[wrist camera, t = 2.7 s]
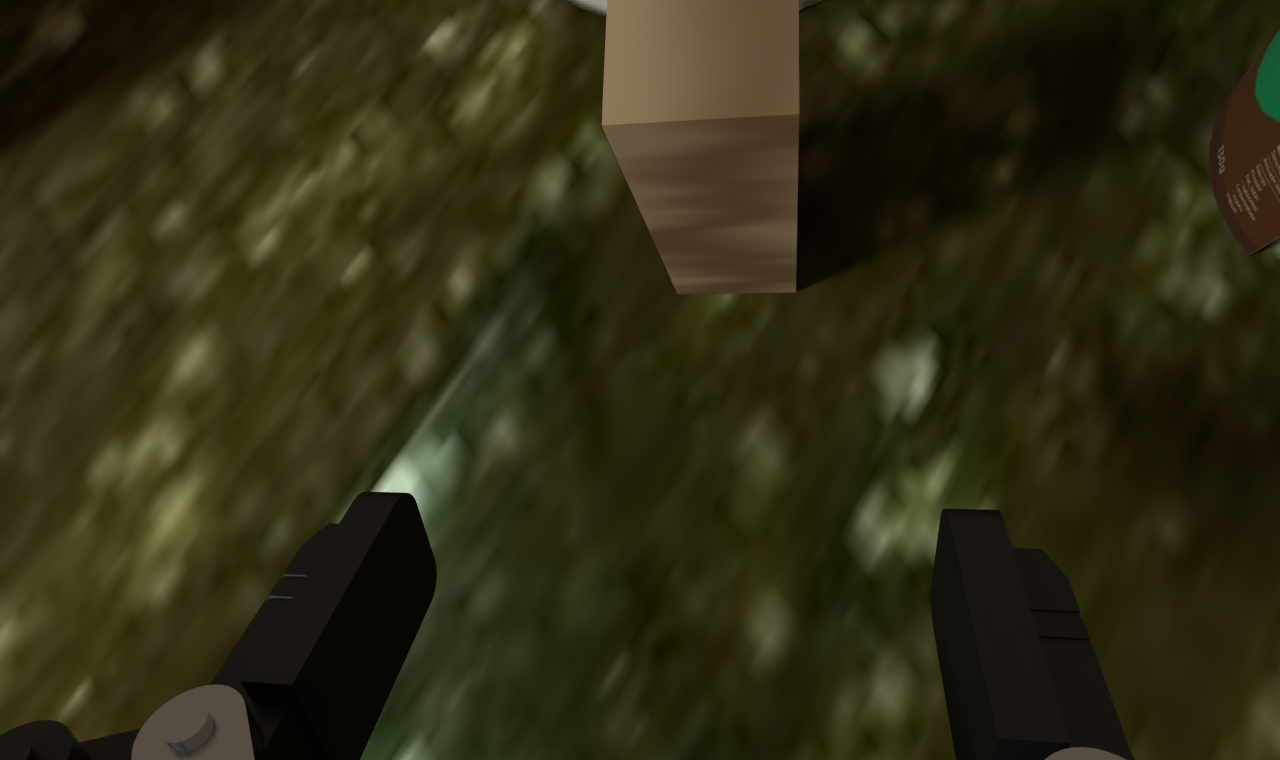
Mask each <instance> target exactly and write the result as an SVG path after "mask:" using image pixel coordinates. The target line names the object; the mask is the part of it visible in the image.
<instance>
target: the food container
mask: <svg viewBox="0 0 1280 760" xmlns="http://www.w3.org/2000/svg"><path fill="white" fill-rule="evenodd" d="M1209 172H1210V178H1211V184H1212V190H1213V193H1214V196H1215V199H1216V202H1217V205H1218V208H1219V211H1220V213H1221V215H1222V217H1223V219H1224V221H1225V222H1226V224H1227V226H1228V228H1229V230H1230V232H1231V233H1232V235H1233V236H1234V237H1235V239H1236V240H1237V241H1238V243H1239V244H1240V245H1241V247H1242V248H1243V249H1244V250H1245V252H1246V253H1247V254H1248V256H1250V255H1252V254H1253V253H1255V252H1256V251H1258V250H1260V249H1261V248H1263V247H1264V246H1266V245H1268V244H1269V243H1271V242H1272V241H1274V240H1276V239H1277V238H1279V237H1280V29H1279V30H1278V31H1277V33H1276V34H1275V35H1274V37H1273V38H1272V39H1271V40H1270V42H1269V43H1268V44H1267V46H1266V47H1265V48H1264V49H1263V51H1262V52H1261V53H1260V55H1259V56H1258V57H1257V58H1256V60H1255V61H1254V62H1253V64H1252V65H1251V66H1250V67H1249V69H1248V70H1247V71H1246V73H1245V74H1244V75H1243V76H1242V78H1241V79H1240V80H1239V82H1238V83H1237V84H1236V85H1235V87H1234V88H1233V90H1232V91H1231V93H1230V94H1229V96H1228V97H1227V99H1226V100H1225V102H1224V103H1223V105H1222V107H1221V110H1220V112H1219V114H1218V117H1217V119H1216V121H1215V124H1214V127H1213V132H1212V137H1211V141H1210V146H1209Z"/></svg>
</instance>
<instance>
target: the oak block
mask: <svg viewBox="0 0 1280 760" xmlns="http://www.w3.org/2000/svg"><path fill="white" fill-rule="evenodd" d="M602 127H603V129H604V131H605V134H606V136H607V138H608V140H609V142H610V145H611V147H612V149H613V151H614V154H615V156H616V158H617V160H618V163H619V165H620V167H621V169H622V171H623V174H624V176H625V178H626V180H627V183H628V185H629V187H630V189H631V191H632V194H633V196H634V198H635V200H636V203H637V205H638V207H639V209H640V211H641V214H642V216H643V218H644V220H645V223H646V225H647V227H648V229H649V231H650V234H651V236H652V238H653V240H654V243H655V245H656V247H657V249H658V251H659V254H660V256H661V258H662V260H663V263H664V265H665V267H666V269H667V272H668V274H669V276H670V278H671V280H672V283H673V285H674V287H675V289H676V292H677V294H678V295H680V294H731V293H781V292H796V266H797V208H798V149H799V0H607V20H606V42H605V65H604V87H603V109H602Z"/></svg>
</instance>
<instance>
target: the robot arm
mask: <svg viewBox="0 0 1280 760" xmlns="http://www.w3.org/2000/svg"><path fill="white" fill-rule="evenodd" d="M436 577H437V571H436V562H435V558H434V555H433V552H432V549H431V546H430V543H429V540H428V537H427V534H426V531H425V528H424V525H423V522H422V519H421V515H420V512H419V509H418V506H417V503H416V501H415V499H414V497H413V496H412V495H411V494H409V493H390V492H362V493H361V494H359V495H358V496H357V497H356V498H355V500H354V501H353V503H352V504H351V506H350V508H349V509H348V511H347V512H346V514H345V515H344V517H343V519H342V520H341V522H340V523H339V524H332V523H328V524H327V525H326V526H325V527H324V528H323V529H321V530H320V531H319V532H318V533H317V534H315V535H314V536H313V537H312V538H311V539H309V540H308V541H307V542H306V543H305V544H303V545H302V546H301V547H300V549H299V550H298V552H297V553H296V555H295V556H294V558H293V559H292V561H291V562H290V564H289V565H288V567H287V569H286V570H285V572H284V577H283V578H280V579H279V581H278V582H277V584H276V585H275V587H274V588H273V590H272V591H271V593H270V594H269V600H265V602H264V603H263V605H262V606H261V608H260V609H259V611H258V612H257V614H256V615H255V617H254V618H253V620H252V621H251V623H250V624H249V626H248V627H247V629H246V630H245V632H244V633H243V635H242V636H241V638H240V639H239V641H238V642H237V644H236V645H235V647H234V649H233V650H232V652H231V653H230V655H229V656H228V658H227V659H226V661H225V662H224V664H223V665H222V667H221V668H220V670H219V671H218V673H217V674H216V676H215V677H214V679H213V680H212V681H211V683H210V684H209V685H206V686H201V687H197V688H194V689H192V690H189V691H186V692H184V693H182V694H180V695H178V696H176V697H175V698H173V699H172V700H170V701H168V702H167V703H166V704H164V705H163V706H162V707H161V708H159V709H158V710H157V711H156V712H155V713H154V714H153V715H152V716H151V717H150V718H149V719H148V720H147V722H146V723H145V724H144V725H143V727H142V728H141V729H137V730H133V731H128V732H124V733H119V734H115V735H111V736H106V737H102V738H97V739H93V740H89V741H84V742H80V743H79V742H78V740H77V739H76V738H75V737H74V735H73V734H72V733H71V731H70V730H69V729H68V728H67V727H66V726H65V725H64V724H62V723H60V722H57V721H51V720H43V721H36V722H31V723H27V724H24V725H21V726H19V727H16V728H14V729H12V730H10V731H8V732H6V733H4V734H2V735H0V760H360V758H361V756H362V754H363V751H364V749H365V747H366V745H367V743H368V740H369V738H370V736H371V734H372V732H373V729H374V727H375V725H376V723H377V720H378V718H379V716H380V714H381V712H382V709H383V707H384V705H385V703H386V701H387V698H388V696H389V694H390V692H391V690H392V687H393V685H394V683H395V681H396V679H397V676H398V674H399V672H400V670H401V667H402V665H403V663H404V661H405V659H406V656H407V654H408V652H409V650H410V648H411V645H412V643H413V641H414V639H415V637H416V634H417V632H418V630H419V628H420V626H421V623H422V621H423V619H424V617H425V614H426V612H427V610H428V608H429V606H430V603H431V601H432V599H433V595H434V592H435V587H436ZM931 609H932V621H933V629H934V635H935V640H936V646H937V652H938V658H939V663H940V669H941V675H942V681H943V687H944V692H945V698H946V704H947V710H948V716H949V721H950V727H951V733H952V739H953V744H954V750H955V756H956V760H1135V759H1134V758H1133V756H1132V753H1131V751H1130V749H1129V747H1128V744H1127V741H1126V738H1125V736H1124V733H1123V730H1122V727H1121V724H1120V722H1119V719H1118V716H1117V713H1116V710H1115V708H1114V705H1113V702H1112V699H1111V697H1110V694H1109V691H1108V688H1107V685H1106V683H1105V680H1104V677H1103V674H1102V671H1101V669H1100V666H1099V663H1098V660H1097V657H1096V655H1095V652H1094V649H1093V646H1090V638H1089V635H1088V632H1087V630H1086V627H1085V624H1084V621H1083V618H1080V610H1079V607H1078V604H1077V602H1076V599H1075V596H1074V593H1073V591H1072V588H1071V585H1070V582H1069V579H1068V578H1067V577H1066V576H1065V574H1064V573H1063V572H1062V571H1061V570H1060V569H1059V568H1058V567H1057V566H1056V565H1055V563H1054V562H1053V561H1052V560H1051V559H1050V558H1049V557H1048V556H1047V555H1046V554H1045V552H1044V551H1043V550H1042V549H1021V548H1012V546H1011V543H1010V539H1009V536H1008V533H1007V529H1006V526H1005V522H1004V519H1003V516H1002V514H1001V513H1000V511H998V510H974V509H943V511H942V513H941V518H940V525H939V532H938V540H937V548H936V555H935V563H934V570H933V578H932V588H931Z"/></svg>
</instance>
